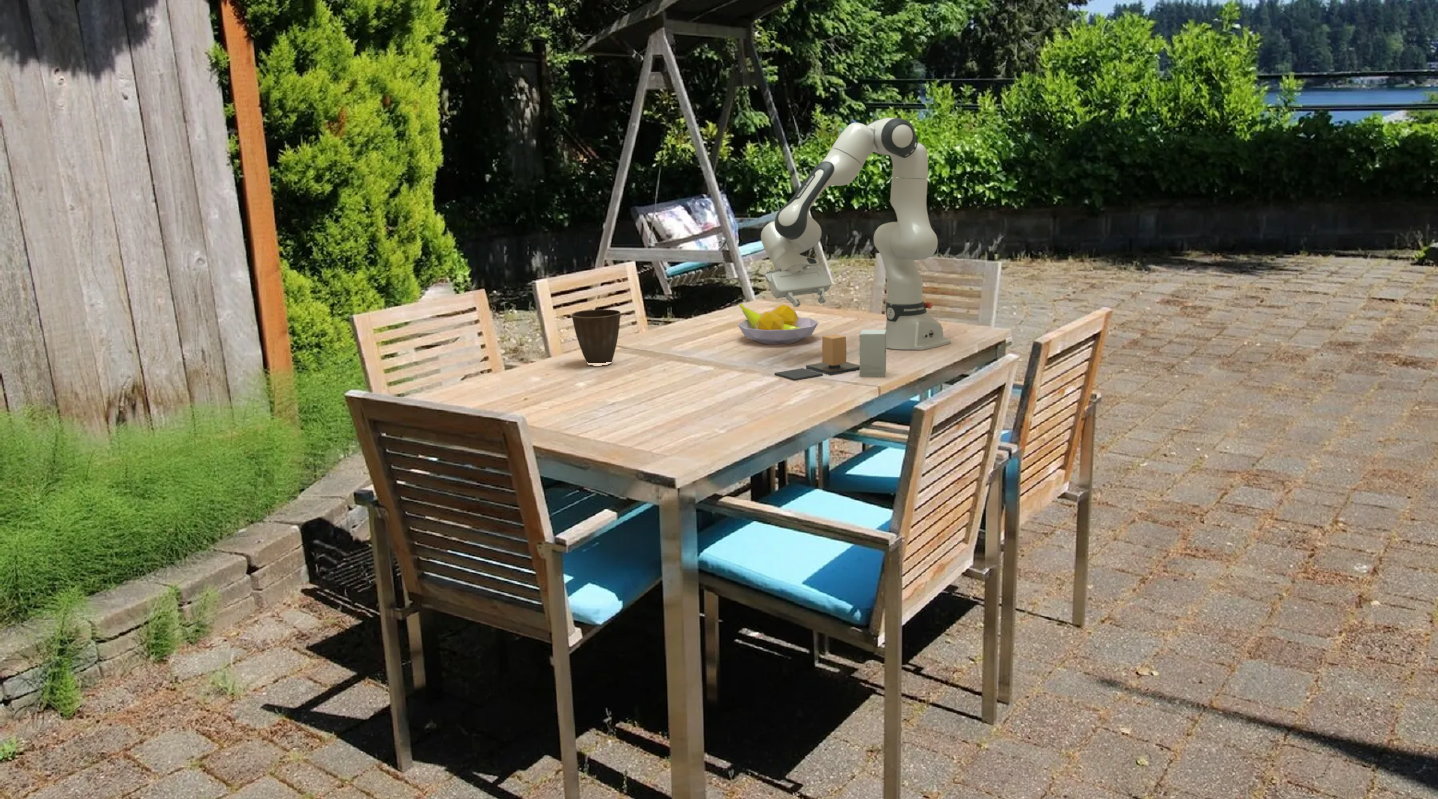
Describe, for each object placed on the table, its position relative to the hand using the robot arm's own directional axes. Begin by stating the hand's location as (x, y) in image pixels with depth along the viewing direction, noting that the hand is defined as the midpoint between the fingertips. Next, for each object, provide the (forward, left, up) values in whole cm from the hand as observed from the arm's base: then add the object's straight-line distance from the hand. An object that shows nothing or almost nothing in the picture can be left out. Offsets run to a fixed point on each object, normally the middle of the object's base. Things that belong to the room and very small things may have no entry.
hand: (810, 304), depth 361 cm
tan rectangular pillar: (0, +11, -16) cm, 20 cm away
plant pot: (+51, -42, -18) cm, 68 cm away
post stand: (0, +11, -18) cm, 21 cm away
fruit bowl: (-13, -38, -18) cm, 44 cm away
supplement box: (-4, +24, -18) cm, 31 cm away
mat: (+13, +11, -18) cm, 25 cm away
